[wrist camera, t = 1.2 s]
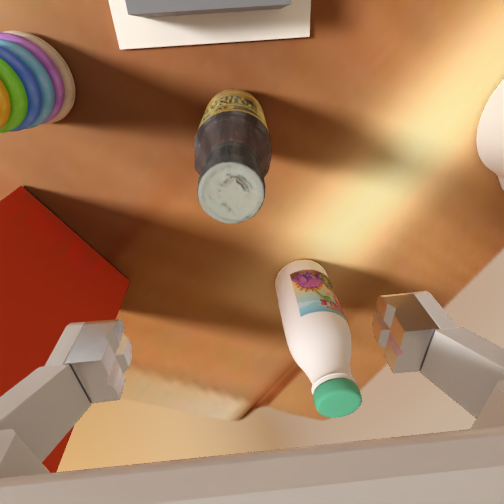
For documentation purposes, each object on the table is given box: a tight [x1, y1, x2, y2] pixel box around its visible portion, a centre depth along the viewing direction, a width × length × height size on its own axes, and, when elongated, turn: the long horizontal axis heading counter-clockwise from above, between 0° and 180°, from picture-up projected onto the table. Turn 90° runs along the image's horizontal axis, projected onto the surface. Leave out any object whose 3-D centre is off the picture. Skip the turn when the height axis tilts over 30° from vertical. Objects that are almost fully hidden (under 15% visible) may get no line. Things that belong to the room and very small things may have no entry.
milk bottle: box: [275, 259, 362, 418], centre depth 40 cm, size 8×8×20 cm
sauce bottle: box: [195, 89, 272, 224], centre depth 28 cm, size 6×6×20 cm
